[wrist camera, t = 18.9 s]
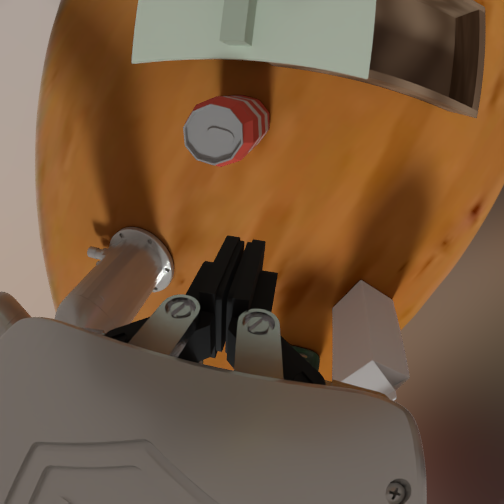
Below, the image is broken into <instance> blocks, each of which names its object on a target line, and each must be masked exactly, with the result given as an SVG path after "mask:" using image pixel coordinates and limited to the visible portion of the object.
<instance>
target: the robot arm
mask: <svg viewBox="0 0 504 504" xmlns="http://www.w3.org/2000/svg"><path fill="white" fill-rule="evenodd" d="M264 251H265V241H260V240H253V241H252V243H251V242H247V245H246V248H245V250H244V241H240V237H234V236H227V237H226V239H225V241H224V243H223V245H222V247H221V249H220V251H219V252H218V254H217V256H216V258H215V260H214V262H208V261H205V262H204V263H203V264H202V266H201V268H200V270H199V271H198V273H197V275H196V277H195V279H194V280H193V282H192V284H191V286H190V288H189V289H188V291H187V293H186V295H174V296H171V297H169V298H167V299H166V300H165V301H163V303H162V304H161V305H160V306H159V307H158V308H157V310H156V311H155V312H154V313H153V314H152V315H151V317H148V318H145V319H142V320H139V321H136V322H133V323H131V322H132V320H133V319H134V317H135V316H136V314H137V313H138V311H139V310H140V308H141V307H142V306H143V304H144V303H145V301H146V300H147V298H148V297H149V295H150V294H151V293H152V292H158V291H161V290H163V289H165V288H166V287H167V286H168V285H169V283H170V282H171V280H172V278H173V274H174V265H173V260H172V258H171V255H170V253H169V252H168V250H167V248H166V247H165V246H164V244H163V243H162V242H161V241H160V240H159V239H158V238H157V237H156V236H154V235H153V234H151V233H150V232H148V231H146V230H144V229H141V228H137V227H126V228H123V229H121V230H120V231H118V232H117V233H116V234H115V235H114V236H113V237H112V239H111V241H110V245H109V248H108V249H107V248H104V249H99V248H96V247H92V246H91V247H89V249H88V252H87V254H88V256H89V257H92V258H95V259H100V260H101V261H98V262H97V263H96V266H95V267H94V268H93V269H92V270H91V271H90V272H89V273H88V274H87V275H86V276H85V277H84V278H83V280H82V281H81V282H80V283H79V284H78V285H77V286H76V287H75V288H74V289H73V290H72V291H71V292H70V293H69V295H68V296H67V297H66V298H65V299H64V300H63V301H62V302H61V304H60V305H59V307H58V309H57V312H56V315H55V319H50V318H43V317H31V316H30V315H29V314H28V313H27V312H26V310H25V309H24V308H23V307H22V306H21V305H20V304H19V303H18V302H17V301H16V299H15V298H14V297H12V296H11V295H10V294H8V293H5V292H0V504H426V502H427V501H426V500H427V498H426V471H425V460H424V453H423V447H422V441H421V437H420V433H419V430H418V427H417V424H416V422H415V420H414V418H413V416H412V415H411V413H410V412H409V411H408V410H407V409H405V408H404V407H403V406H401V405H400V404H398V403H396V402H395V401H393V400H390V399H389V398H388V397H387V396H386V395H385V394H383V393H380V392H377V391H373V390H370V389H366V388H362V387H358V386H355V385H351V384H347V383H344V382H340V381H337V380H334V379H333V381H332V382H330V381H327V380H324V378H323V376H322V375H321V374H320V373H319V372H318V371H317V370H316V369H315V368H314V367H313V366H312V365H311V364H310V363H309V362H308V361H306V360H305V359H304V358H303V357H302V356H301V355H300V354H299V353H298V352H297V351H296V350H295V349H294V348H293V347H292V346H291V345H290V344H289V343H288V342H287V341H286V340H285V339H284V338H283V337H282V336H280V324H279V320H278V318H277V317H276V316H275V315H274V314H273V313H271V311H272V305H273V299H274V293H275V287H276V281H277V275H278V273H275V272H268V271H262V267H263V259H264ZM225 341H226V348H225V352H226V353H227V361H228V362H229V363H230V364H231V366H232V367H233V368H234V371H232V370H227V369H222V368H217V367H213V366H208V365H204V364H203V360H204V359H206V358H209V357H212V358H215V357H216V354H217V351H220V352H222V350H223V347H224V344H225Z"/></svg>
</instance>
